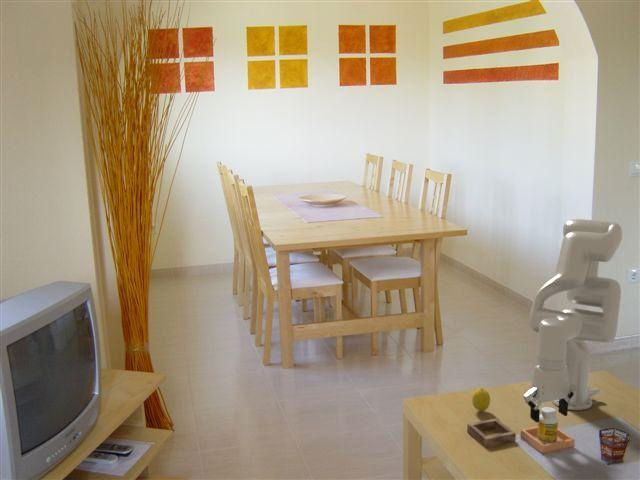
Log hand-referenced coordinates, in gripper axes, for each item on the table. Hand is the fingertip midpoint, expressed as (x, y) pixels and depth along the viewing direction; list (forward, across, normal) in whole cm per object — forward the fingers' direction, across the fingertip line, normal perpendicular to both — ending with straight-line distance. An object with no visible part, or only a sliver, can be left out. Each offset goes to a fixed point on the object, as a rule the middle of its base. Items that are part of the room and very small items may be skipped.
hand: (548, 417), depth 201 cm
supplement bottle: (+7, +1, 0) cm, 7 cm away
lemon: (+8, +8, -23) cm, 26 cm away
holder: (+7, +14, -8) cm, 18 cm away
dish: (+8, +1, +1) cm, 8 cm away
